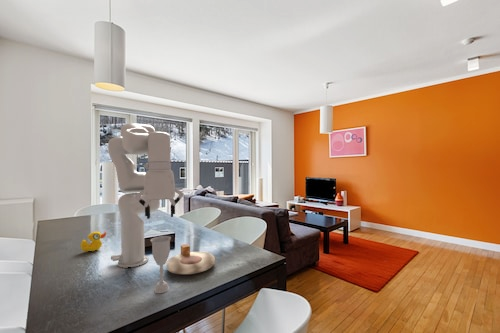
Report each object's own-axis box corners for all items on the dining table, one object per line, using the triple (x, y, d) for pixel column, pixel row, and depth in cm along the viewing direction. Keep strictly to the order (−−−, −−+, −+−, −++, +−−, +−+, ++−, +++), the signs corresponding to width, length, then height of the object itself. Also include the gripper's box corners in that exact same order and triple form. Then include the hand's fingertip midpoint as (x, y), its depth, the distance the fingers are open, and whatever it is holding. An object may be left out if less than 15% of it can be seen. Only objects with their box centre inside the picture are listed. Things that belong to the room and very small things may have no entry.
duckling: (106, 247, 132) (105, 229, 132) (107, 249, 127) (106, 231, 127) (80, 251, 125) (80, 232, 125) (80, 254, 121) (80, 235, 121)
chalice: (156, 284, 89) (155, 235, 89) (174, 284, 89) (174, 235, 89) (147, 294, 82) (146, 242, 81) (167, 294, 81) (166, 242, 81)
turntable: (174, 279, 89) (173, 264, 89) (161, 261, 106) (161, 248, 106) (222, 266, 100) (222, 252, 100) (204, 252, 116) (204, 240, 116)
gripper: (130, 167, 79) (131, 221, 79) (185, 166, 84) (186, 217, 84) (134, 167, 86) (135, 217, 86) (184, 166, 91) (185, 213, 91)
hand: (160, 216), depth 85 cm, fingers open, 7 cm apart
